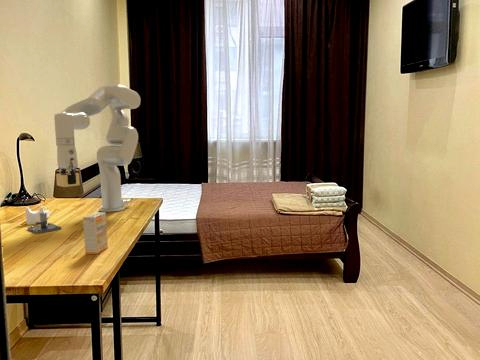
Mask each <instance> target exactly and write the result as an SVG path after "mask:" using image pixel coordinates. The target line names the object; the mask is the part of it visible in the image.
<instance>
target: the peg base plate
mask: <svg viewBox="0 0 480 360" xmlns="http://www.w3.org/2000/svg"><path fill="white" fill-rule="evenodd" d="M39 223H40V224H39V225H31V226H29V227H27V230H28V231H29V232H32V233H34V234H37V235H38V234H43V233H49V232H54V231H58V230H59V231H60V230H62V227H61V226H60V225H58V224H54V223H51V222H48V218H47V213H46V212H43V213H40V222H39Z"/></svg>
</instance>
